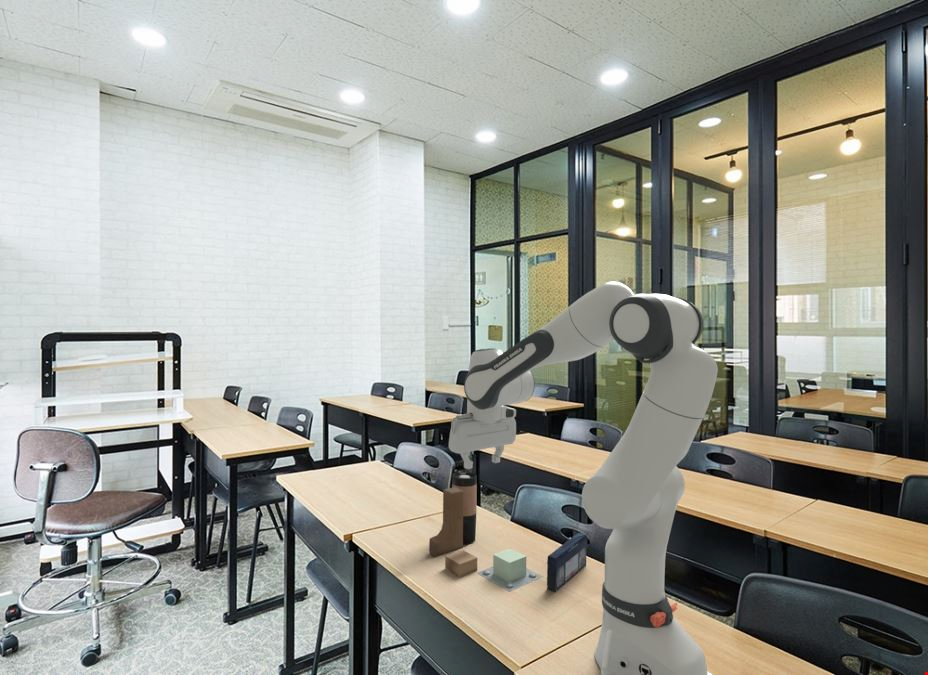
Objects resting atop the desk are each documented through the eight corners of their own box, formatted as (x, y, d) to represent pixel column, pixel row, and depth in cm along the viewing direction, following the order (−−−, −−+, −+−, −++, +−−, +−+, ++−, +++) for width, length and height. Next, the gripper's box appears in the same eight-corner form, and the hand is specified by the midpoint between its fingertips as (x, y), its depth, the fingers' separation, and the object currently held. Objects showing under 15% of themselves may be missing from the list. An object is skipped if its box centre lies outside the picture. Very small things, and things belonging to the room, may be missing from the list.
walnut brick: (477, 576, 132) (477, 557, 132) (459, 583, 128) (459, 564, 128) (462, 568, 136) (462, 549, 136) (445, 574, 133) (445, 556, 133)
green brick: (526, 575, 129) (526, 556, 129) (509, 582, 125) (509, 562, 125) (509, 567, 134) (509, 548, 134) (493, 573, 130) (493, 554, 130)
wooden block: (436, 559, 141) (437, 495, 141) (428, 553, 145) (429, 491, 145) (463, 552, 146) (463, 490, 146) (454, 546, 150) (455, 486, 150)
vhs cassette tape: (555, 599, 121) (555, 558, 121) (544, 595, 123) (545, 554, 123) (588, 571, 135) (588, 534, 135) (578, 568, 137) (578, 532, 137)
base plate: (542, 582, 129) (542, 574, 129) (509, 597, 121) (509, 589, 121) (509, 565, 138) (509, 558, 138) (476, 578, 130) (476, 571, 130)
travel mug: (466, 547, 150) (466, 480, 149) (446, 540, 154) (447, 475, 154) (481, 538, 156) (481, 474, 155) (461, 532, 160) (462, 470, 160)
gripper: (460, 417, 119) (458, 475, 119) (520, 410, 132) (518, 462, 132) (444, 413, 123) (442, 468, 124) (504, 406, 137) (502, 456, 137)
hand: (482, 465), depth 128 cm, fingers open, 8 cm apart
